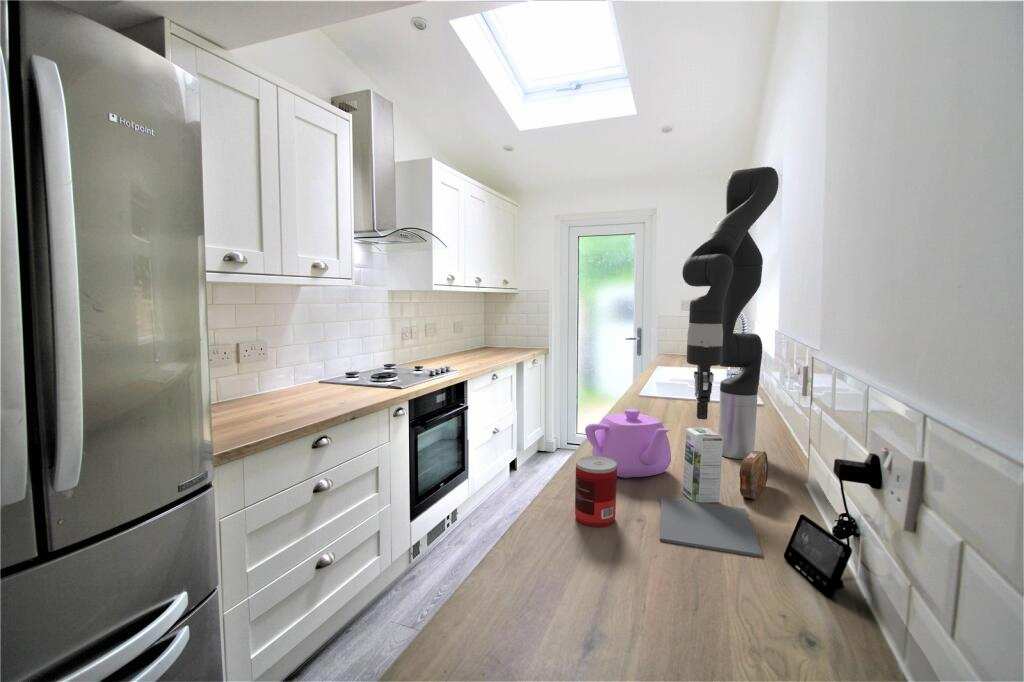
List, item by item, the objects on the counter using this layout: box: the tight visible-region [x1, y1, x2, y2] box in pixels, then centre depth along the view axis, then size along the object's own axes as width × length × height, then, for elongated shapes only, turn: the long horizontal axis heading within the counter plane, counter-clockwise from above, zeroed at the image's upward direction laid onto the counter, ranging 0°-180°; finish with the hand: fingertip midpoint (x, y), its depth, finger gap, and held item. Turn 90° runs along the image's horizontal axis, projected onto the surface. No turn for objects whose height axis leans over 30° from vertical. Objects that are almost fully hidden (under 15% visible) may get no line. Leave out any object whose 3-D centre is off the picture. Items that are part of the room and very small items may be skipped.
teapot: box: [584, 408, 672, 479], centre depth 113 cm, size 23×21×15 cm
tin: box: [739, 450, 769, 501], centre depth 103 cm, size 15×3×8 cm, turn 140°
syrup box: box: [682, 427, 723, 504], centre depth 100 cm, size 6×6×14 cm
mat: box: [659, 497, 763, 558], centre depth 88 cm, size 18×16×1 cm
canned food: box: [574, 455, 618, 528], centre depth 90 cm, size 8×8×11 cm
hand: (701, 418), depth 108 cm, fingers closed
